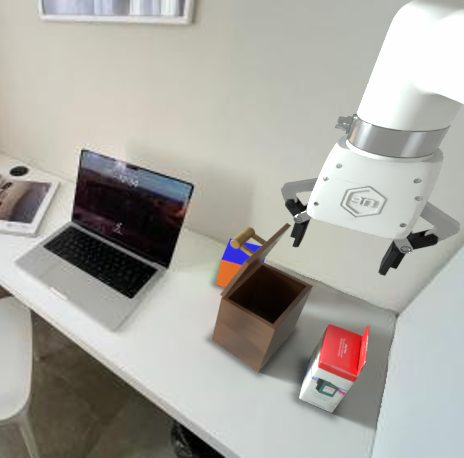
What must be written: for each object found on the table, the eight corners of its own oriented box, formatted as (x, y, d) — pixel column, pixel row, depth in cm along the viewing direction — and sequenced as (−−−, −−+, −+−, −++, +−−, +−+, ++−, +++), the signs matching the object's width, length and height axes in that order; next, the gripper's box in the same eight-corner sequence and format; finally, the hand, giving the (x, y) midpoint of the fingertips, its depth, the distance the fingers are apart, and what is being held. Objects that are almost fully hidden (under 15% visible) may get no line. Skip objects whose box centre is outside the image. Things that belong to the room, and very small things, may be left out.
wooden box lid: (291, 225, 62) (264, 208, 64) (249, 264, 56) (221, 244, 58) (262, 260, 70) (240, 243, 72) (223, 297, 64) (200, 278, 66)
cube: (260, 273, 84) (268, 247, 80) (253, 296, 79) (261, 270, 75) (224, 263, 88) (230, 238, 83) (216, 284, 83) (221, 259, 78)
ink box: (306, 361, 66) (333, 310, 57) (338, 374, 64) (372, 323, 55) (298, 399, 61) (326, 350, 52) (332, 415, 59) (368, 366, 50)
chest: (293, 329, 72) (313, 285, 64) (258, 372, 66) (275, 329, 58) (247, 303, 78) (260, 260, 70) (211, 340, 72) (221, 297, 64)
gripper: (292, 133, 41) (259, 247, 51) (516, 168, 31) (419, 300, 41) (309, 111, 45) (276, 220, 55) (512, 135, 35) (425, 263, 45)
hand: (337, 254), depth 48 cm, fingers open, 9 cm apart
